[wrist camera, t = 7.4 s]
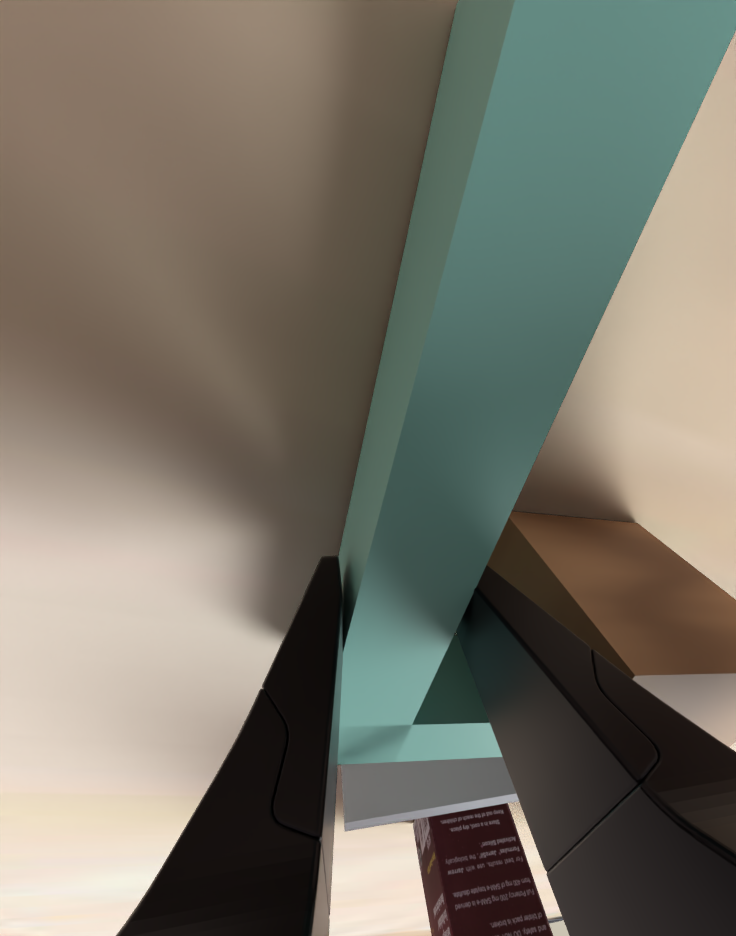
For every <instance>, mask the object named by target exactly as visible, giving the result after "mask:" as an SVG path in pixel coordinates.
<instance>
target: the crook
mask: <svg viewBox="0 0 736 936" xmlns="http://www.w3.org/2000/svg"><path fill="white" fill-rule="evenodd" d="M735 31H736V0H459V1H458V3H457V5H456V9H455V14H454V19H453V23H452V28H451V33H450V37H449V42H448V47H447V51H446V56H445V61H444V65H443V70H442V75H441V79H440V84H439V89H438V93H437V98H436V103H435V107H434V112H433V117H432V121H431V126H430V131H429V135H428V140H427V145H426V149H425V154H424V159H423V164H422V168H421V173H420V178H419V182H418V187H417V192H416V196H415V201H414V206H413V210H412V215H411V220H410V224H409V229H408V234H407V238H406V243H405V248H404V252H403V257H402V262H401V266H400V271H399V276H398V280H397V285H396V290H395V294H394V299H393V304H392V308H391V313H390V318H389V322H388V327H387V332H386V336H385V341H384V346H383V350H382V355H381V360H380V364H379V369H378V374H377V378H376V383H375V388H374V392H373V397H372V402H371V406H370V411H369V416H368V420H367V425H366V430H365V434H364V439H363V444H362V449H361V453H360V458H359V463H358V467H357V472H356V477H355V481H354V486H353V491H352V495H351V500H350V505H349V509H348V514H347V519H346V523H345V528H344V533H343V537H342V542H341V547H340V551H339V556H338V557H339V564H340V573H341V582H342V592H343V665H342V685H341V704H340V724H339V744H338V763H337V765H344V764H365V763H386V762H407V761H428V760H449V759H469V758H490V757H502V754H501V751H500V749H499V746H498V743H497V741H496V738H495V735H494V733H493V730H492V727H491V725H490V722H489V719H488V717H487V714H486V711H485V709H484V706H483V703H482V701H481V698H480V695H479V693H478V690H477V687H476V685H475V682H474V679H473V677H472V674H471V671H470V669H469V666H468V663H467V661H466V658H465V655H464V653H463V650H462V647H461V645H460V642H459V639H458V636H457V635H454V634H455V632H456V629H457V627H458V625H459V623H460V621H461V619H462V617H463V614H464V612H465V610H466V608H467V606H468V604H469V602H470V599H471V597H472V595H473V593H474V589H475V588H476V586H477V584H478V582H479V580H480V578H481V576H482V574H483V571H484V569H485V567H486V565H487V563H488V561H489V559H490V556H491V554H492V552H493V550H494V548H495V546H496V544H497V541H498V539H499V537H500V535H501V533H502V531H503V529H504V526H505V524H506V522H507V520H508V518H509V516H510V514H511V511H512V509H513V507H514V505H515V503H516V501H517V499H518V496H519V494H520V492H521V490H522V488H523V486H524V483H525V481H526V479H527V477H528V475H529V473H530V471H531V468H532V466H533V464H534V462H535V460H536V458H537V456H538V453H539V451H540V449H541V447H542V445H543V443H544V441H545V438H546V436H547V434H548V432H549V430H550V428H551V426H552V423H553V421H554V419H555V417H556V415H557V413H558V411H559V408H560V406H561V404H562V402H563V400H564V398H565V396H566V393H567V391H568V389H569V387H570V385H571V383H572V381H573V378H574V376H575V374H576V372H577V370H578V368H579V365H580V363H581V361H582V359H583V357H584V355H585V353H586V350H587V348H588V346H589V344H590V342H591V340H592V338H593V335H594V333H595V331H596V329H597V327H598V325H599V323H600V320H601V318H602V316H603V314H604V312H605V310H606V308H607V305H608V303H609V301H610V299H611V297H612V295H613V293H614V290H615V288H616V286H617V284H618V282H619V280H620V278H621V275H622V273H623V271H624V269H625V267H626V265H627V262H628V260H629V258H630V256H631V254H632V252H633V250H634V247H635V245H636V243H637V241H638V239H639V237H640V235H641V232H642V230H643V228H644V226H645V224H646V222H647V220H648V217H649V215H650V213H651V211H652V209H653V207H654V205H655V202H656V200H657V198H658V196H659V194H660V192H661V190H662V187H663V185H664V183H665V181H666V179H667V177H668V175H669V172H670V170H671V168H672V166H673V164H674V162H675V159H676V157H677V155H678V153H679V151H680V149H681V147H682V144H683V142H684V140H685V138H686V136H687V134H688V132H689V129H690V127H691V125H692V123H693V121H694V119H695V117H696V114H697V112H698V110H699V108H700V106H701V104H702V102H703V99H704V97H705V95H706V93H707V91H708V89H709V87H710V84H711V82H712V80H713V78H714V76H715V74H716V72H717V69H718V67H719V65H720V63H721V61H722V59H723V56H724V54H725V52H726V50H727V48H728V46H729V44H730V41H731V39H732V37H733V35H734V33H735Z"/></svg>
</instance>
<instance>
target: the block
mask: <svg viewBox="0 0 736 936" xmlns="http://www.w3.org/2000/svg"><path fill="white" fill-rule="evenodd" d="M487 565H488V566H489V567H490V568H492V569H493V570H494V571H495V572H497V573H498V574H499V575H500V576H502V577H503V578H504V579H505V580H507V581H508V582H509V583H511V584H512V585H513V586H514V587H516V588H517V589H518V590H519V591H521V592H522V593H523V594H524V595H526V596H527V597H528V598H529V599H531V600H532V601H533V602H535V603H536V604H537V605H538V606H540V607H541V608H542V609H543V610H545V611H546V612H547V613H548V614H550V615H551V616H552V617H553V618H555V619H556V620H557V621H559V622H560V623H561V624H562V625H564V626H565V627H566V628H567V629H569V630H570V631H571V632H572V633H574V634H575V635H576V636H577V637H579V638H580V639H581V640H583V641H584V642H585V643H586V644H588V645H589V646H590V648H591V649H594V650H595V651H597V652H598V653H599V654H600V655H602V656H603V657H604V658H605V659H607V660H608V661H609V662H611V663H612V664H613V665H614V666H616V667H617V668H618V669H620V670H621V671H622V672H624V673H625V674H626V675H628V676H629V677H630V678H631V679H633V680H634V681H635V682H637V683H638V684H639V685H641V686H642V687H644V688H645V689H646V690H648V691H649V692H651V693H652V694H653V695H655V696H656V697H658V698H659V699H660V700H662V701H663V702H665V703H666V704H667V705H669V706H670V707H672V708H673V709H674V710H676V711H677V712H679V713H680V714H682V715H683V716H685V717H686V718H687V719H689V720H690V721H692V722H693V723H695V724H696V725H698V726H699V727H700V728H702V729H703V730H705V731H706V732H708V733H709V734H711V735H712V736H713V737H715V738H716V739H718V740H719V741H721V742H722V743H724V744H725V745H726V746H728V747H729V746H730V745H732V744H733V743H734V742H736V600H735V599H734V598H733V597H731V596H730V595H729V594H728V593H726V592H725V591H724V590H722V589H721V588H720V587H719V586H717V585H716V584H715V583H714V582H712V581H711V580H710V579H708V578H707V577H706V576H705V575H703V574H702V573H701V572H699V571H698V570H697V569H696V568H694V567H693V566H692V565H690V564H689V563H688V562H687V561H685V560H684V559H683V558H681V557H680V556H679V555H678V554H676V553H675V552H674V551H672V550H671V549H670V548H669V547H667V546H666V545H665V544H663V543H662V542H661V541H660V540H658V539H657V538H656V537H655V536H653V535H652V534H651V533H649V532H648V531H647V530H646V529H644V528H643V527H642V526H640V525H639V524H638V523H630V522H620V521H609V520H598V519H588V518H577V517H567V516H556V515H546V514H535V513H524V512H514V511H511V514H510V516H509V518H508V520H507V522H506V524H505V526H504V529H503V531H502V533H501V535H500V537H499V539H498V541H497V544H496V546H495V548H494V550H493V552H492V554H491V556H490V559H489V561H488V563H487ZM456 633H457V632H456Z"/></svg>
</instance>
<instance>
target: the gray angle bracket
mask: <svg viewBox="0 0 736 936" xmlns="http://www.w3.org/2000/svg"><path fill="white" fill-rule="evenodd" d="M341 775H342V792H343V810H344V827H345V831H351V830H356V829H362V828H368V827H374V826H379V825H385V824H391V823H396V822H402V821H408V820H413V819H419V818H425V817H431V816H436V815H442V814H448V813H453V812H459V811H465V810H470V809H476V808H482V807H488V806H493V805H499V804H505V803H510V802H516V801H519V799H518V796H517V794H516V791H515V788H514V786H513V783H512V780H511V778H510V775H509V773H508V770H507V767H506V765H505V762H504V759H503V757H490V758H469V759H449V760H428V761H407V762H386V763H365V764H344V765H341Z"/></svg>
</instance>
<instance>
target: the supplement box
mask: <svg viewBox="0 0 736 936" xmlns="http://www.w3.org/2000/svg"><path fill="white" fill-rule="evenodd" d="M413 828H414V835H415V841H416V847H417V853H418V859H419V865H420V870H421V876H422V882H423V888H424V894H425V899H426V905H427V910H428V916H429V922H430V928H431V934H432V936H553V934H552V931H551V928H550V926H549V922H548V920H547V917H546V914H545V911H544V908H543V905H542V902H541V899H540V896H539V894H538V891H537V888H536V885H535V882H534V879H533V876H532V873H531V870H530V867H529V864H528V861H527V858H526V855H525V852H524V849H523V846H522V844H521V841H520V838H519V835H518V832H517V829H516V826H515V823H514V820H513V817H512V814H511V812H510V809H509V806H508V803H505V804H499V805H493V806H488V807H482V808H476V809H470V810H465V811H459V812H453V813H448V814H442V815H436V816H431V817H425V818H419V819H415V820H414V823H413Z"/></svg>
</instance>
